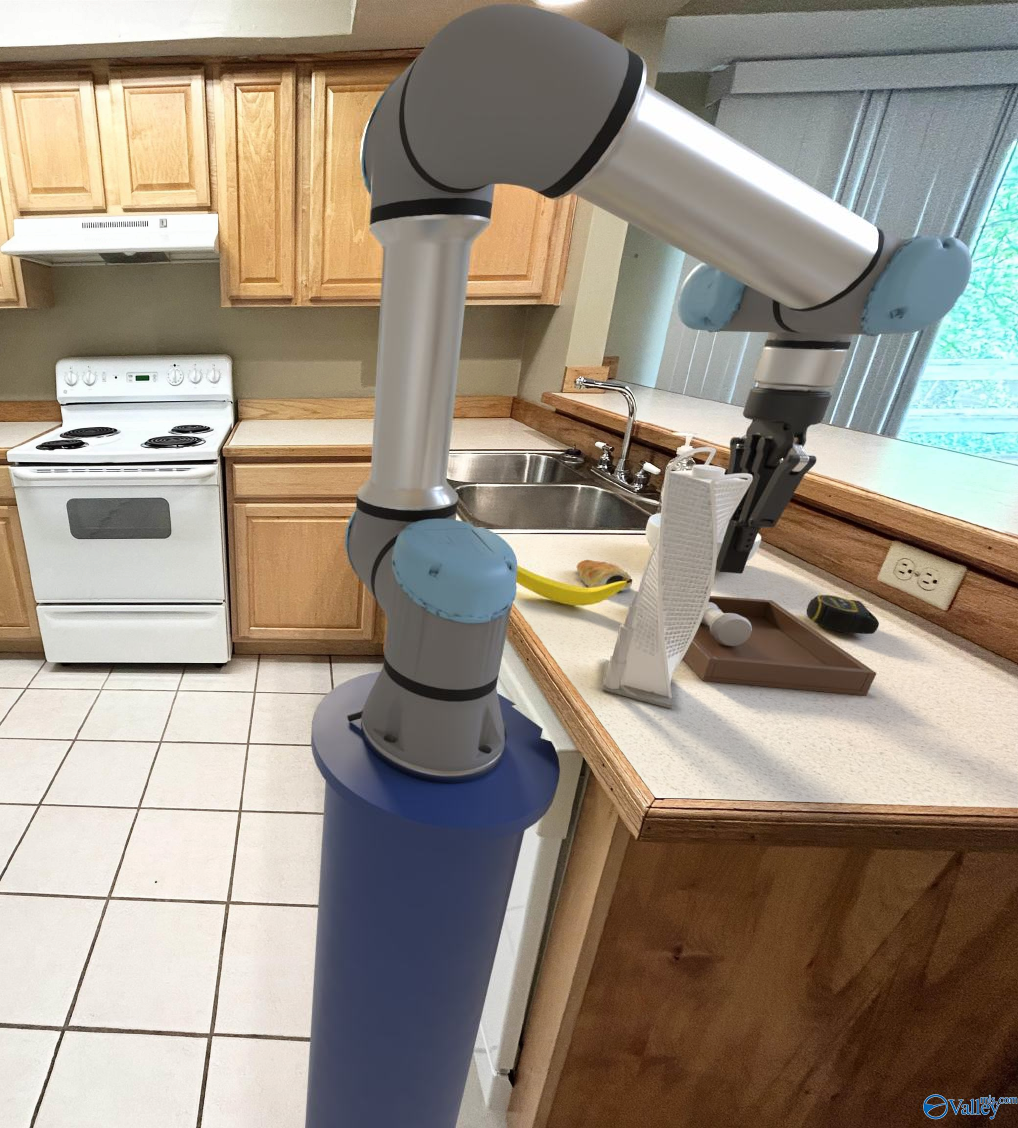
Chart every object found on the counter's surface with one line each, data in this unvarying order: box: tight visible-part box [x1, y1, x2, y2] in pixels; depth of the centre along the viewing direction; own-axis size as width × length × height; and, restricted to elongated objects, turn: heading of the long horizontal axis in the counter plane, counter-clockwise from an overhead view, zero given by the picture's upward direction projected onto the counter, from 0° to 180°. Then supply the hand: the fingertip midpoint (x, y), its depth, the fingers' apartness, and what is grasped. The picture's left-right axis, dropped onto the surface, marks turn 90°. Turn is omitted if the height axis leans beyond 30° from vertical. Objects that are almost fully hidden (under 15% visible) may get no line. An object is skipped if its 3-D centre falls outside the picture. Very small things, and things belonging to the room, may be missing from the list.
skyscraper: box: [601, 446, 753, 709], centre depth 66 cm, size 8×8×28 cm
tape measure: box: [806, 594, 880, 635], centre depth 84 cm, size 7×7×4 cm
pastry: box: [576, 559, 633, 592], centre depth 98 cm, size 9×7×4 cm
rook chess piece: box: [701, 602, 752, 647], centre depth 81 cm, size 4×4×8 cm
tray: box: [682, 595, 877, 696], centre depth 79 cm, size 18×20×3 cm
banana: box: [516, 564, 633, 607], centre depth 91 cm, size 3×19×6 cm, turn 52°
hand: (728, 570), depth 79 cm, fingers closed
